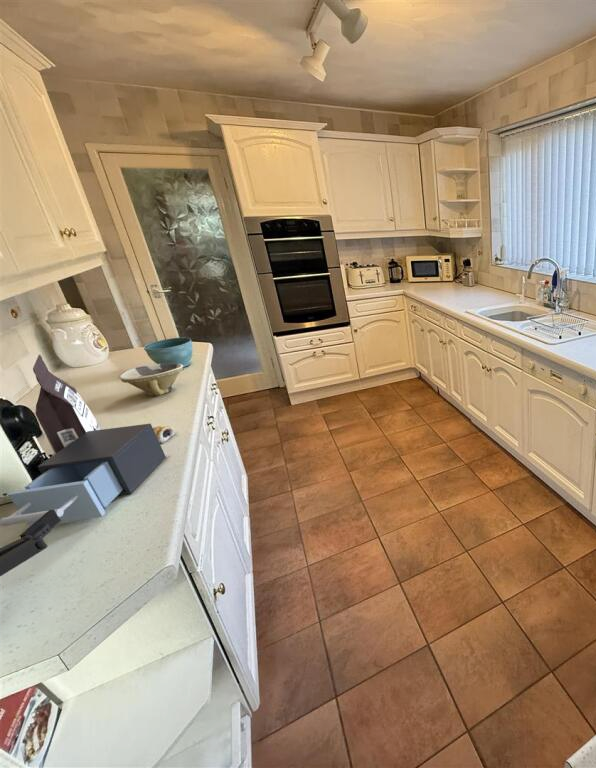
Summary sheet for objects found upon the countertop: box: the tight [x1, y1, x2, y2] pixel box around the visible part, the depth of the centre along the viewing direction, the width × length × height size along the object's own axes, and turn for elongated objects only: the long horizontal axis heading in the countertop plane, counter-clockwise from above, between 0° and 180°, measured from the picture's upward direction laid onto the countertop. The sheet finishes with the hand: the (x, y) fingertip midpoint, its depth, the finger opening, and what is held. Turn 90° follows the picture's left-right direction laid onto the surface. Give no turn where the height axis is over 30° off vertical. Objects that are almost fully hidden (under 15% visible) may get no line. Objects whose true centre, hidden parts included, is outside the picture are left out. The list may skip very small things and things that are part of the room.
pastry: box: [152, 425, 176, 444], centre depth 116 cm, size 9×7×4 cm
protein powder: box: [32, 354, 102, 455], centre depth 104 cm, size 16×9×28 cm, turn 44°
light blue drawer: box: [0, 460, 124, 527], centre depth 86 cm, size 21×13×9 cm, turn 15°
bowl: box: [118, 363, 184, 397], centre depth 147 cm, size 18×18×10 cm
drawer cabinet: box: [37, 423, 167, 497], centre depth 97 cm, size 16×14×11 cm
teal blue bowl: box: [143, 337, 194, 368], centre depth 172 cm, size 16×16×11 cm
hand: (10, 522), depth 73 cm, fingers open, 13 cm apart
